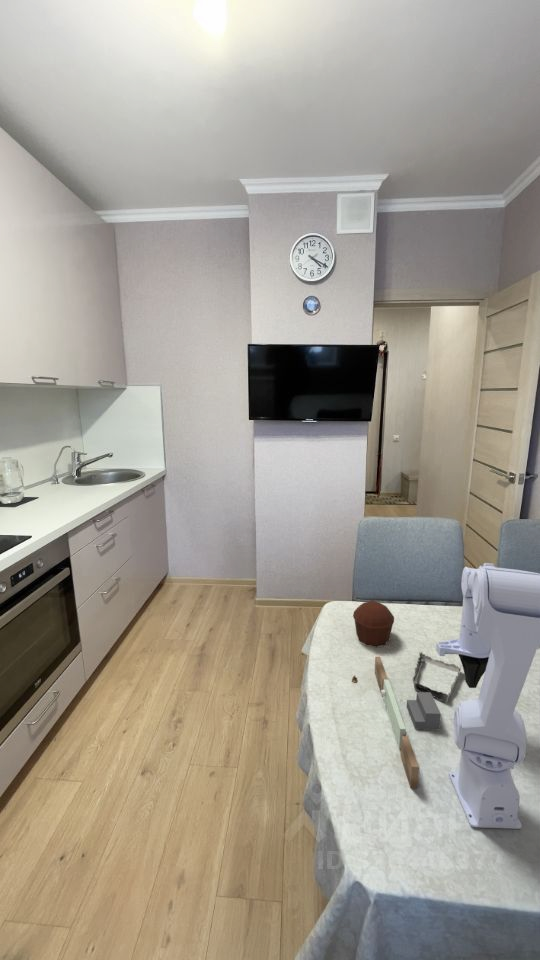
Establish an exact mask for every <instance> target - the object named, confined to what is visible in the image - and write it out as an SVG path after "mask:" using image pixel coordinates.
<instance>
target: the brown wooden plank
mask: <svg viewBox="0 0 540 960" xmlns="http://www.w3.org/2000/svg"><path fill="white" fill-rule="evenodd" d="M374 676H375V679H376V682H377V685H378V688H379V691H380V695H381V697H382V698H383V696H382V694H381V690H383V685H384V680H389V679H388V675H387V673H386V669H385V667H384V664H383V660H382V658H381V656H374ZM400 759H401V762H402V766H403V768H404V772H405V775H406V778H407V782H408V785H409V788H410V789H418V787H419V786H418V784H419V783H418V782H419V771H420V767H419V763H418V760H417V758H416V754H415V751H414V749H413V747H412V743H411V741H410V738H409V736H407V731H402V739H401V749H400Z"/></svg>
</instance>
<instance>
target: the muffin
mask: <svg viewBox="0 0 540 960" xmlns="http://www.w3.org/2000/svg"><path fill="white" fill-rule="evenodd" d="M352 617H353V619H354V625H355V626H354V627H355V633H356V634H355V635H356V636H357V639H358V642H360V643H362V644H364V645H365V646H369V647H375V648H379V647H382V646H386V645H387V643H388V642H389V641H390V637H391V633H392V629H393V625H394V623H395V616H394V614H393V613H392V612H391V611H390V609H389V608H388V607H387V606H386V605H384V604H383V603H381V602H378V601H376V600H373V601H366V602H362V603H361V604H360V605H359V606H358V607H356V609H355V610H354V611H353V614H352Z"/></svg>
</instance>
